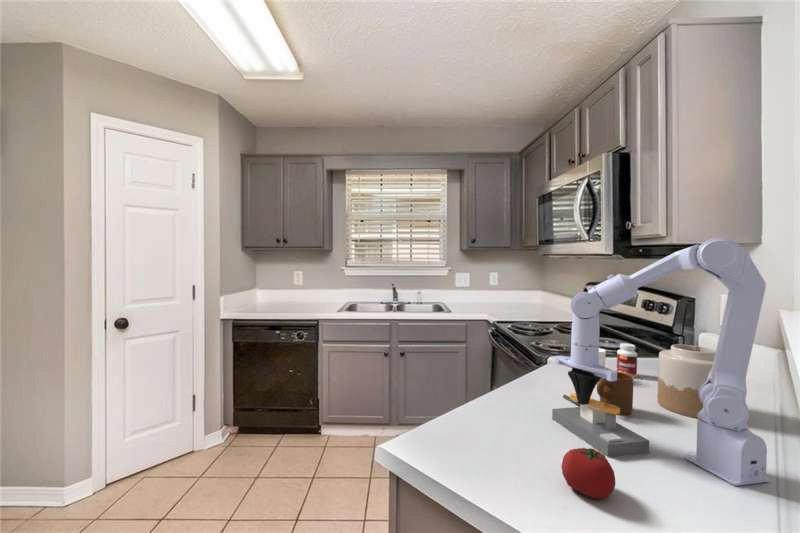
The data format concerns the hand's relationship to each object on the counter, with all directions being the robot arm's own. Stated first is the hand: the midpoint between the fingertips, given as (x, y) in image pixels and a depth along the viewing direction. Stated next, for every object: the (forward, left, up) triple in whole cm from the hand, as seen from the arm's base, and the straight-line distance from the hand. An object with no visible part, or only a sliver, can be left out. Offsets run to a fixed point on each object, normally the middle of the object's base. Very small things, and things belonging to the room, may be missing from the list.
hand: (582, 403), depth 83 cm
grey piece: (-1, -3, -7) cm, 7 cm away
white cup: (+36, -33, -7) cm, 49 cm away
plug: (+5, -4, -4) cm, 7 cm away
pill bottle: (+37, -48, -7) cm, 60 cm away
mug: (+10, -17, -7) cm, 20 cm away
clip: (-1, -2, 0) cm, 2 cm away
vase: (+8, -41, -7) cm, 42 cm away
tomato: (-19, +14, -7) cm, 25 cm away
